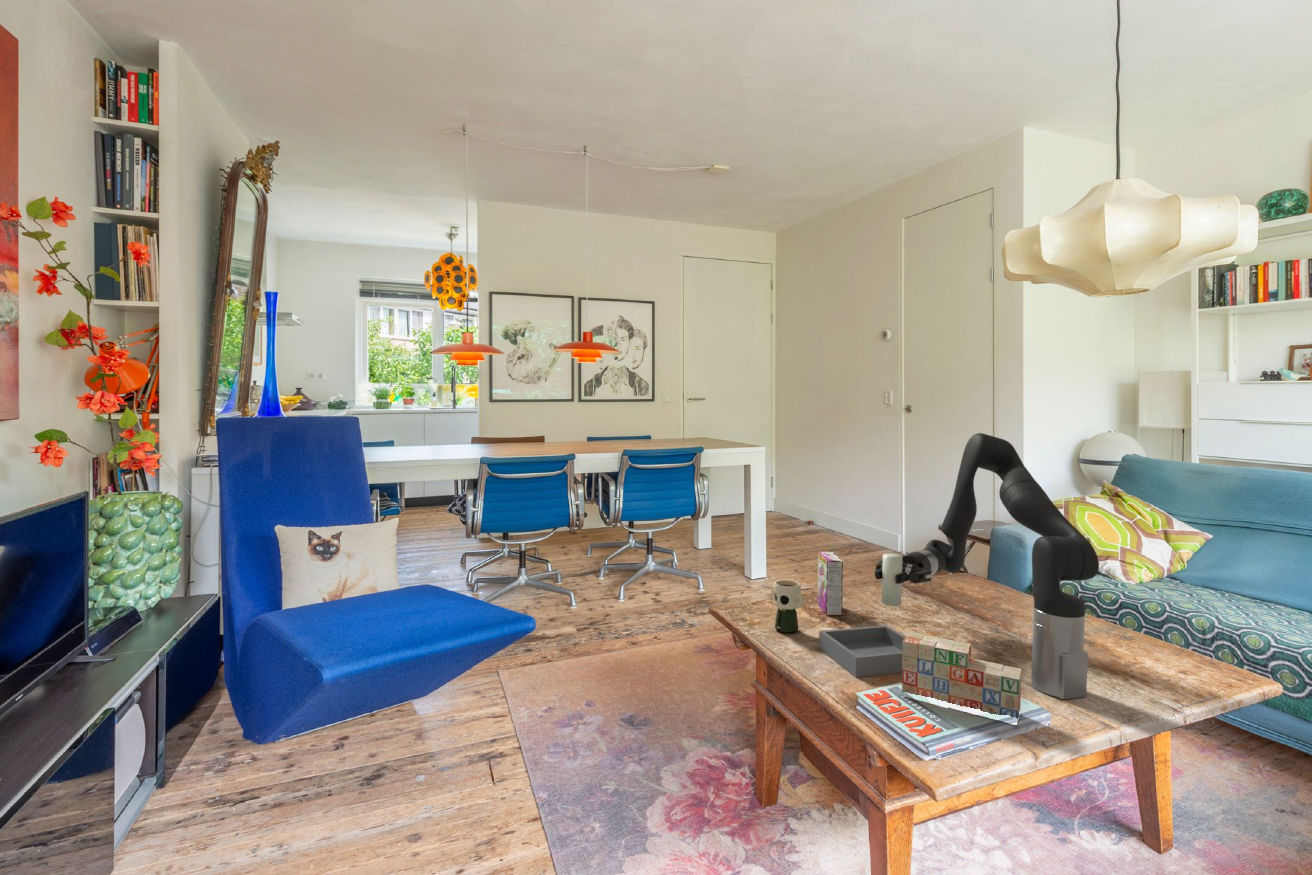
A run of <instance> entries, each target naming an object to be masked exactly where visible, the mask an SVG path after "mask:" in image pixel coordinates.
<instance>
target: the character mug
mask: <svg viewBox="0 0 1312 875" xmlns="http://www.w3.org/2000/svg"><path fill="white" fill-rule="evenodd" d="M801 587H802V585H801V583H800V582H798V581H796V580H791V579H778V580H775V581H774V582H773V585H771V596H772V597H773V599H772V600H773V604H774V606H775V607H776V608H777V611H776V614H775V615H776V618H775V622H774V624H775V625H774V628H775V630H779V632H783V633H792V632H796V631H797V630H799V621H798V613H797V612H798V611H797V609H799V608H800V607H803V606H804V594H802V593H801V591H802V590H801V589H802V588H801Z"/></svg>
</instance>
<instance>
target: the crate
mask: <svg viewBox="0 0 1312 875" xmlns="http://www.w3.org/2000/svg"><path fill="white" fill-rule="evenodd" d="M818 636H819V637H818V649H819V650H820V651H822V652H823V653H824V654H825V655H826V656H828V657H829V658H830V659H832V660H833V661H834V662H835V663H837V664H838V665H839V666H841V667H842V668H843V669H845V670H846V671H847V672H848V673H849V674H851V675H852V676H853V677H855V678H865V677H873V676H882V675H883V676H884V675H893V674H894V675H895V674H900V673H901V674H902V655H903V640H904V639H905V637H906V636H907V635H906V636H905V635H904V634H902V633H900V632H899V631H897V630H895V629H893V628H892V627H890V626H888V624H887V625H886V624H885V625H873V626H864V627H863V626H862V627H852V628H849V627H848V628H838V629H829V630H828V629H825V630H819V634H818Z"/></svg>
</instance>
